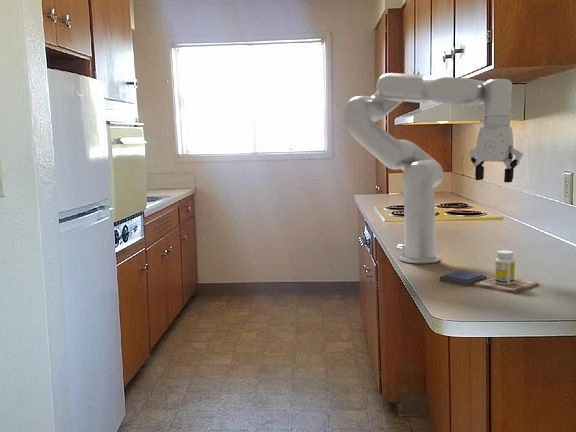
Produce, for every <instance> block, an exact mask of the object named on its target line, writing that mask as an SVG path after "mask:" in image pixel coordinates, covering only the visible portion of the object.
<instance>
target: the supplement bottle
mask: <svg viewBox="0 0 576 432" xmlns="http://www.w3.org/2000/svg"><path fill="white" fill-rule="evenodd" d="M496 257H497V258H495V271H494V272H495V282H496V283H498V284H502V285H510V284H513V283H514V279H515V264H516V263H515V259H514V251H512V250H498V251H497V252H496Z"/></svg>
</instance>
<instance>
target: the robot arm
mask: <svg viewBox="0 0 576 432" xmlns="http://www.w3.org/2000/svg"><path fill="white" fill-rule="evenodd" d="M375 87H376V91H375V93H373V94H372V95H371V96H369V95H368V96H367V95H359V96H354V97H352V98H350V99H349V100H348V101H347V103H346V104H345V107H344V109H343V122H344V124H345V125H344V126H345V128H346V130H347V132H348V133H349V135H350V136H351V137H352V138H353V139H354V140H355V141H356V142H357V143H358V144H360V146H362V148H364V149H365V150H366V151H368V152H369V153H370V154H371V155H372V156H373V157H375V158H376V159H377V160H378V161H380V163H381V164H383V165H384V166H385V167H386V168H388V169H390V170H394V171H395V170H401V171H403V172H402V176H401V183H402V184H401V185H402V191H403V201H404V203H403V204H404V206H403V207H404V209H403V210H404V211H403V212H404V217H403V218H404V229H403V230H404V234H403V235H404V236H403V237H404V242H403V243H404V244H399V243H398V244H397V246H396V247H395V251H398V252H401V254H400V255H399V260H400V261H402V262H404V263H409V264H433V263H434V264H435V263H437V262H439V261H440V259H441V258H440V257H441V256H440V255H438V254H436V253H435V251H436V247H435V246H436V245H435V244H436V243H435V242H436V199H435V192H434V189H435V188H436V187H438V186H440V184H441V183H442V181H443V179H444V170H443V167H442V166H441V164H440V163H439V162H438V161H437V160H436V159H435V158H433V157H432V156H431V155H429V154H428V153H427V152H426V151H424V150H423V149H422V148H421V147H419V145H417V144H416V143H414V142H412V141H411V140H407V139H398V138H395V137H394V136H392V134H390V133H389V132H387V131H386V130H385V128H382V127H381V126H380V125H378V124H377V123H376V122H378V121H380V120H383V118H385V117H387V115H388V114H389V113H391V112H392V111H393V110H395V109H396V108H397V107H398V106H400V104H402V103H403V102H405V103H407V102H408V103H416V104H417V103H419V104H420V103H421V104H430V103H439V104H440V103H441V104H453V105H461V106H472V107H474V106H481V105H483V116H482V118H480V119H479V123H480V124H482V127H480V128H479V131H478V134H477V139H476V146H475V148H473V149H471V150H470V151H468V155H469V157H470V161H471V163H472V164H473V167H475V169H474V170H475V174H474V176H475V181H481V180H484V175H485V173H484V172H485V166H484V164H485V163H486V162H495V163H496V162H497V163H498V162H499V163H501V162H503V164H504V165H505V167H506V168H505V169H504V176H503V177H504V178H503V179H504V180H503V181H504V183H512V182H513V179H514V169H515V168H516V167H517V166H518V165H519V164H520V163H521V160H522V158H523V156H524V154H523V153H522V152H521V151H519V150H517V149H516V148H515V147H514V134H513V128H512V127H511V113H512V111H511V109H512V96H513V95H512V94H513V93H512V91H513V82H512V81H511V80H510V79H505V78H494V79H493V78H492V79H488V80H487V81H486V80H479V79H473V78H466V77H452V76H449V77H448V76H434V75H431V74H430V75H429V74H417V73H415V74H414V73H398V72H388V73H385V74H382V75H381V76H379V78H378V79H377V82H376V84H375Z"/></svg>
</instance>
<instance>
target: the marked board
mask: <svg viewBox="0 0 576 432" xmlns="http://www.w3.org/2000/svg"><path fill="white" fill-rule="evenodd" d="M539 284H540V283H539V282H535V281H530V280H525V279H519V278H514V283H513V284H510V285H502V284H498V283H496V282H495V276H492V277H489V278H488V277H487V279H485V280H482V281H479V282H476V283H473V285H472V286H473V287H480V288H483V289H489V290H495V291H498V292H500V291H501V292H505V293H509V294H515V295H516V294H518V293H521V292H523V291H527V290H529V289H531V288H534V287H537V286H539Z"/></svg>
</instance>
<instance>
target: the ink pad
mask: <svg viewBox="0 0 576 432" xmlns="http://www.w3.org/2000/svg"><path fill="white" fill-rule="evenodd" d="M485 279H488V277H487V275H484V274H482V273H476V272H469V271H464V270H455V271H453V272H452V271H451V272H449V273H446V274H443V275H440V276H439V282H444V283H450V284H455V285H460V286H465V287H470V286H473V283H476V282H479V281H482V280H485Z"/></svg>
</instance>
